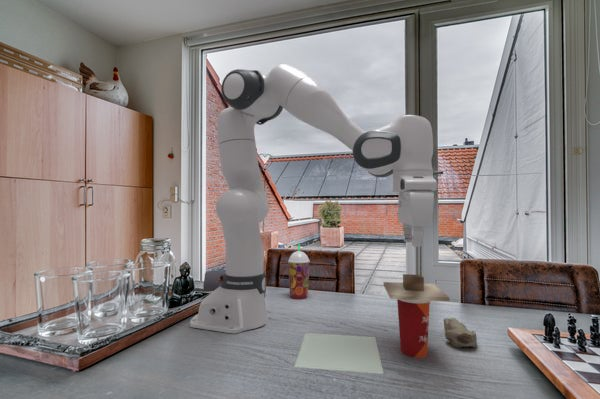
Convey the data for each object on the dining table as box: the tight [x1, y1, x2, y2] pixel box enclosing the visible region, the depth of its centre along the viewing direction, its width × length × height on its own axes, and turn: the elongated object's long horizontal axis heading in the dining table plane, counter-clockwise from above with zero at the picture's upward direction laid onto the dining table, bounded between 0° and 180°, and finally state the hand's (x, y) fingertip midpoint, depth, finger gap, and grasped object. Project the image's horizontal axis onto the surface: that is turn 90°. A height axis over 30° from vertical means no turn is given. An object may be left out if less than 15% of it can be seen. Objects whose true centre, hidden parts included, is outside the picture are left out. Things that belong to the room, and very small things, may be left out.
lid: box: [383, 273, 450, 302], centre depth 72 cm, size 12×12×4 cm
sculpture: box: [443, 317, 478, 349], centre depth 80 cm, size 7×5×15 cm
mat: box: [294, 332, 384, 375], centre depth 72 cm, size 18×18×1 cm
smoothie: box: [287, 243, 311, 300], centre depth 118 cm, size 8×8×20 cm
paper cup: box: [396, 299, 432, 359], centre depth 72 cm, size 8×8×14 cm
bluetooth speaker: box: [202, 269, 267, 294], centre depth 120 cm, size 23×9×10 cm, turn 94°
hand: (412, 244), depth 73 cm, fingers open, 8 cm apart
